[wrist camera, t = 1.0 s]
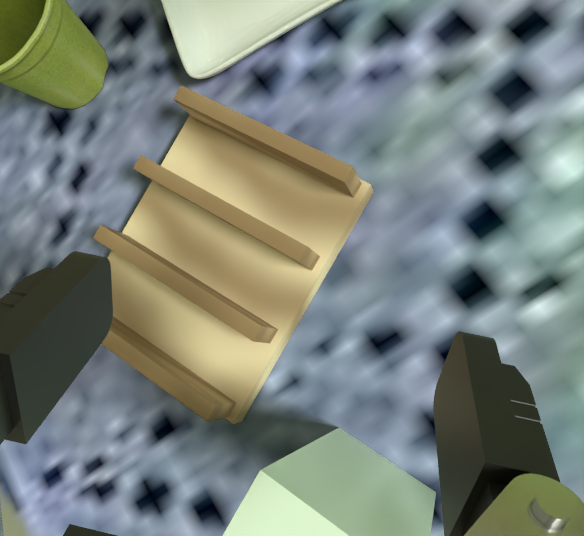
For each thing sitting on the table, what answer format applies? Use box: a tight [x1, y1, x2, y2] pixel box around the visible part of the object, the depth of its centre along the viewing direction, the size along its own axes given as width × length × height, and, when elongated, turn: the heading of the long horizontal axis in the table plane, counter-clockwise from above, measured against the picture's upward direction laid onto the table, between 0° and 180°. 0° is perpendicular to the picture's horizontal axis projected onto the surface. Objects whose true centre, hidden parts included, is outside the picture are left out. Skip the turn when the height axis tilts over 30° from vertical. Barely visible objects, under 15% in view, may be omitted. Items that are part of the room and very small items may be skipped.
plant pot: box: [0, 0, 108, 109], centre depth 39 cm, size 9×9×9 cm
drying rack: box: [93, 86, 374, 424], centre depth 35 cm, size 17×14×4 cm
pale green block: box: [223, 428, 436, 536], centre depth 25 cm, size 3×6×14 cm, turn 58°
